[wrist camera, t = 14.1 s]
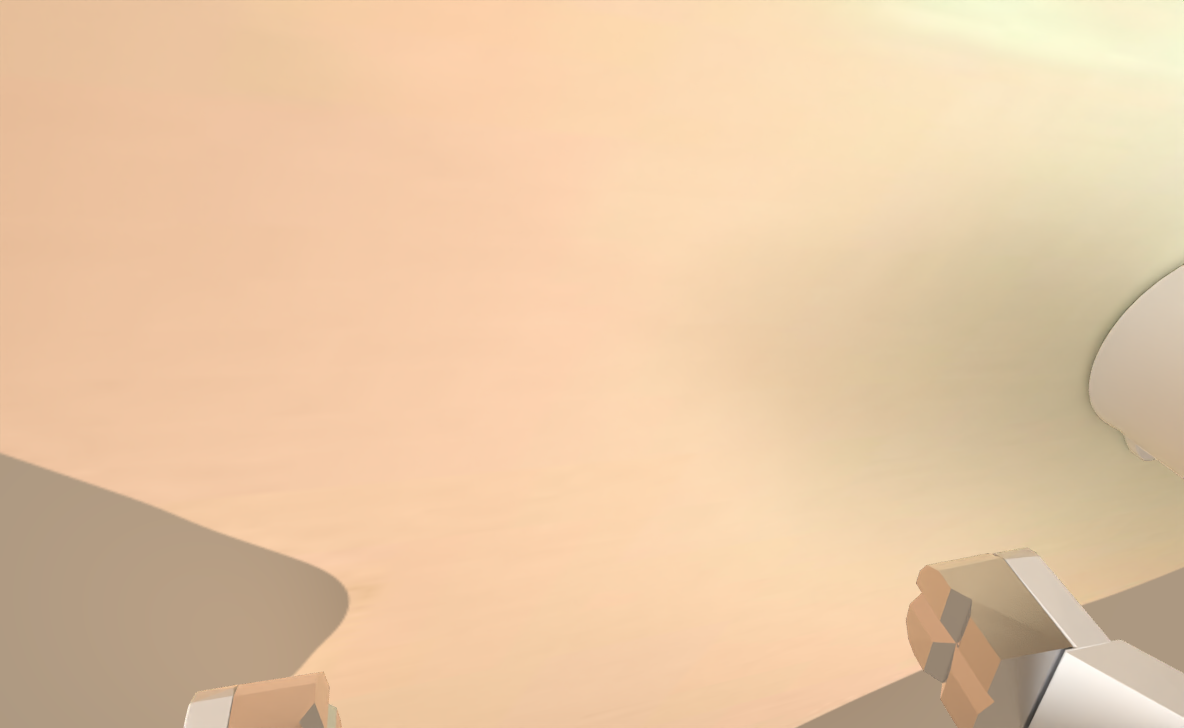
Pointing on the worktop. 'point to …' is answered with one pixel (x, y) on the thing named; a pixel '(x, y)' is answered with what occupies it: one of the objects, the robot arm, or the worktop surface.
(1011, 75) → the worktop surface
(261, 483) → the worktop surface
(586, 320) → the worktop surface
